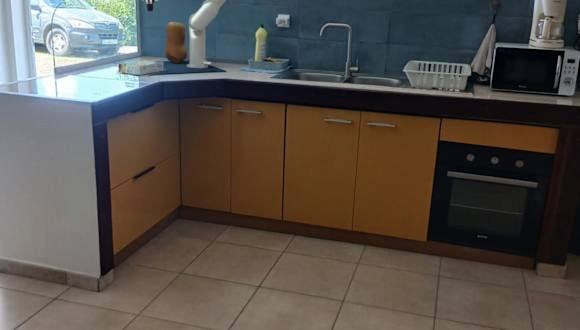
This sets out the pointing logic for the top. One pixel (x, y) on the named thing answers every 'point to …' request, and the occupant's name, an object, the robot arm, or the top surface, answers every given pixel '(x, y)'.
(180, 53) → the butternut squash
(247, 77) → the top surface
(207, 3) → the robot arm
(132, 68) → the snack box
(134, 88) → the top surface
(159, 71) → the mat
